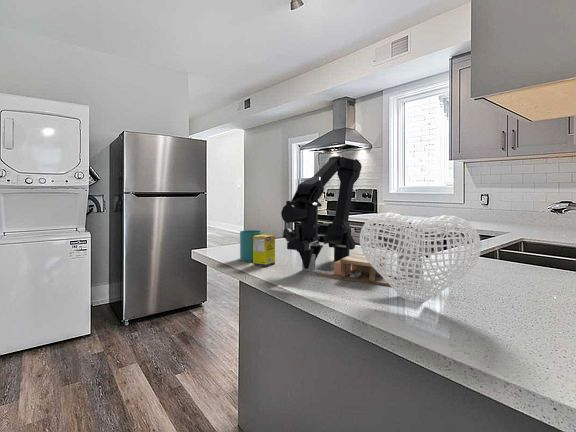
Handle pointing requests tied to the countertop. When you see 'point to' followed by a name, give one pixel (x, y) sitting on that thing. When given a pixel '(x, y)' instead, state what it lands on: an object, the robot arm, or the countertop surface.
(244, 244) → the cup
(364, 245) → the heart
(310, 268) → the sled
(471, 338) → the countertop surface
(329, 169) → the robot arm
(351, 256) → the tunnel channel
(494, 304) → the countertop surface
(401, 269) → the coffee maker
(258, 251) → the supplement box
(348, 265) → the block
